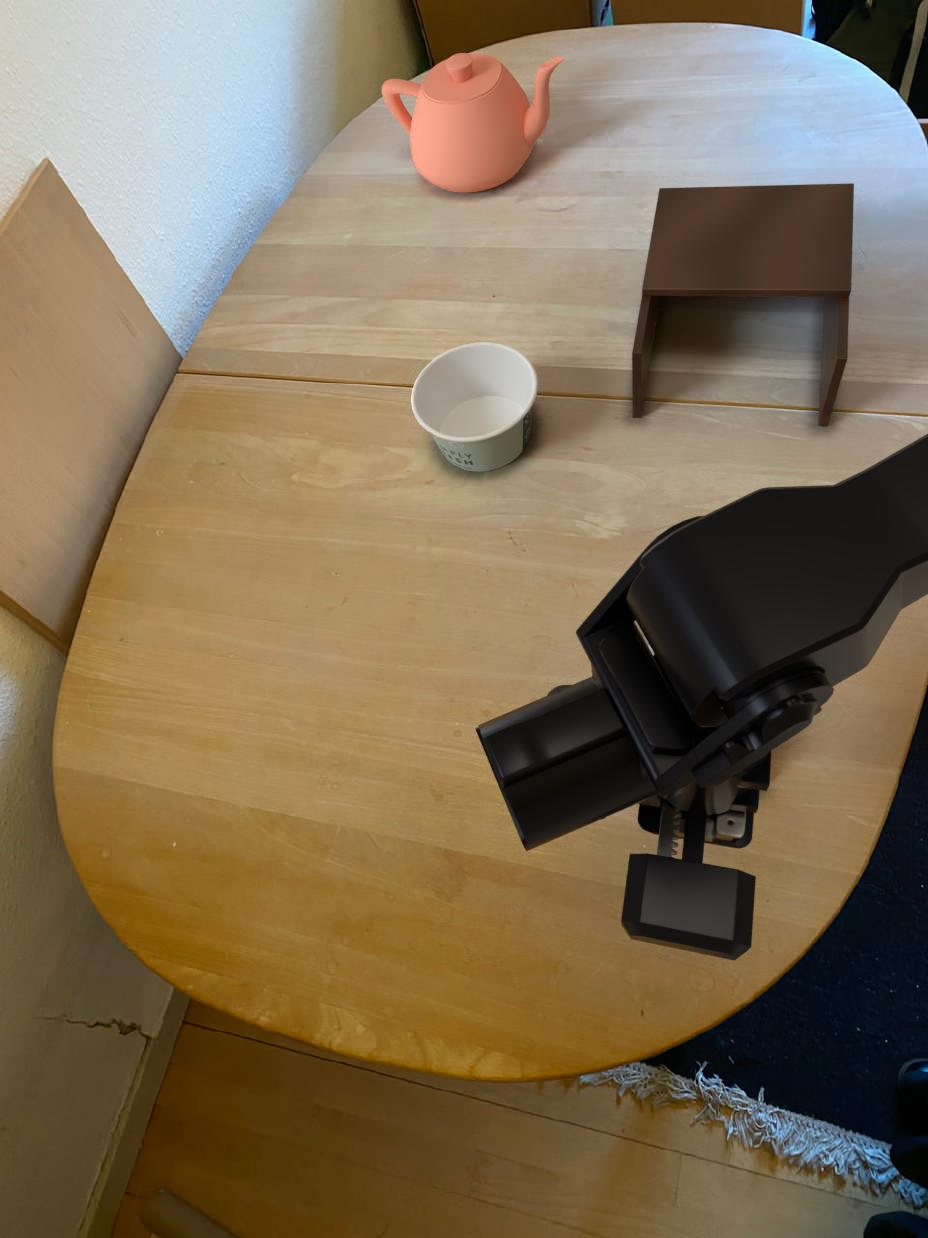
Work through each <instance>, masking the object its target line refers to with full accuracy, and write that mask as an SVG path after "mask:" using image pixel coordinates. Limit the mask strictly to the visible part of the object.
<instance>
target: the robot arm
mask: <svg viewBox="0 0 928 1238" xmlns="http://www.w3.org/2000/svg"><path fill="white" fill-rule="evenodd" d="M925 596H928V433H926V434H925V435H923V436H921V437H919V438H918V439H916V440H914V441H913V442H911V443H909V444H908V445H906V446H904V447H902V448H900V449H898V450H897V451H895V452H894V453H892V454H890V455H888V456H886V457H885V458H883V459H881V460H879V461H878V462H875V463H874V464H873V465H871V466H869V467H867V468H865V469H864V470H861V471H860V472H857V473H855V474H854V475H852V476H850V477H847V478H845V479H843V480H841V481H839V482H837V483H835V484H826V485H825V484H822V485H798V486H797V485H795V486H769V487H761V488H759V489H756V490H754V491H752V492H750V493H748V494H746V495H744V496H742V497H739V498H737V499H735V500H733V501H732V502H729V503H728V504H725V505H722V506H721V507H719V508H717V509H715V510H713V511H711V512H708V513H707V514H705V515H697V516H694V517H690V518H687V519H684V520H681V521H680V522H678V523H676V524H673V525H672V526H670V527H668V528H667V529H666V530H664V531H663V532H661V533H659V535H657V536H656V537H654V539H653V540H652V541H651V542H650V543H649V544H648V545H647V546H646V547H645V548H644V549H643V550H642V552H641V553H640V554H639V555H638V557H636V559H635V560H634V561H633V562H632V563H631V565H630V566H629V567H628V569H626V571H625V572H624V573H623V574H622V576H620V578H619V579H618V581H616V582H615V584H614V585H613V586H612V588H611V589H610V590H609V591H608V592H607V593H606V595H604V596H603V598H602V599H601V601H599V603H598V604H597V605H596V606H595V608H594V609H593V610H592V611H591V612H590V613H589V615H588V616H587V617H586V618H585V619H584V620H583V622H582V623H581V624H580V625H579V627H578V628H577V629H576V630H575V635H576V637H577V639H578V641H579V643H580V645H581V647H582V648H583V650H584V653H585V654H586V656H587V658H588V660H589V663H590V667H591V676H590V677H587V678H585V679H581V680H580V681H578V682H576V683H573V684H560V685H557V686H554V687H553V688H552V689H551V690H550V691H549V692H548V693H547V694H546V695H545V696H543V697H541V698H539V699H535V700H533V701H531V702H529V703H526V704H525V705H522V706H520V707H517V708H515V709H512V710H510V711H508V712H506V713H503V714H501V715H499V716H496V717H494V718H492V719H489V720H487V721H484V722H482V723H480V724H478V725H477V726H478V727H475V728H474V730H475V732H476V734H477V737H478V739H479V742H480V745H481V747H482V749H483V751H484V754H485V756H486V759H487V761H488V763H489V767H490V768H491V771H492V774H493V777H494V778H495V781H496V783H497V786H498V788H499V790H500V793H501V795H502V798H503V800H504V803H505V805H506V808H507V810H508V813H509V815H510V818H511V819H512V822H513V825H514V827H515V830H516V833H517V834H518V838H519V839H520V842H521V844H522V846H523V848H524V850H525V851H526V852H528V851H529V852H530V851H531V850H533V849H536V848H538V847H540V846H542V845H544V844H545V845H546V844H547V843H549V842H552V841H553V840H557V839H560V838H561V837H563V836H565V835H568V834H570V833H573V832H575V831H578V830H580V829H583V828H585V827H586V826H589V825H591V824H594V823H597V822H598V821H601V820H604V819H606V818H608V817H610V816H612V815H615V814H617V813H619V812H622V811H624V810H626V809H629V808H631V807H633V806H635V805H637V804H638V811H637V813H638V814H637V823H638V826H639V827H640V828H641V829H642V830H643V831H645V832H647V833H649V834H652V835H656V836H658V840H657V847H656V848H657V849H656V854H655V853H654V854H653V853H649V852H648V853H647V852H646V853H645V852H643V853H629V856H628V864H627V871H626V880H625V887H624V896H623V902H622V911H621V919H620V923H621V924H620V925H621V927H622V928H623V930H624V931H625V933H626V934H627V935H628V937H629V938H630V940H632V941H638V942H642V943H647V944H650V945H651V944H652V945H657V946H662V947H667V948H670V949H671V948H672V949H677V950H682V951H686V952H691V953H695V954H700V955H706V956H710V957H716V958H719V959H725V960H730V961H733V962H734V961H736V960H737V959H739V958H740V957H742V956H743V955H744V954H745V953H747V952H748V951H749V950H750V949H751V948H752V943H753V930H754V929H753V927H754V913H755V912H754V911H755V898H756V897H755V896H756V883H757V882H756V881H757V876H756V875H754V874H751V873H748V872H746V871H744V870H741V869H740V868H739V869H738V868H732V867H727V866H721V865H716V864H711V863H705V862H703V861H704V851H705V844H708V845H714V846H720V847H725V848H731V849H739V850H740V849H744V848H746V847H747V846H749V845H750V843H751V842H752V840H753V833H754V819H755V818H754V817H755V814H757V812H758V810H759V806H760V805H759V804H760V791H764V792H767V791H768V789H769V787H770V782H771V767H772V751H773V750H774V749H776V748H778V747H779V746H781V745H783V744H784V743H786V742H787V741H788V740H790V739H792V738H793V737H795V736H796V735H797V734H799V733H802V731H804V730H805V729H807V728H808V727H810V726H811V724H812V723H813V720H814V717H815V716H816V715H818V714H819V713H821V712H822V711H823V709H822V706H824V704H826V703H827V702H828V700H830V699H831V697H832V696H833V694H834V691H835V688H834V687H835V686H836V685H838V684H840V683H842V682H843V681H845V680H847V679H848V678H850V677H852V676H854V675H855V674H857V673H859V672H861V671H863V670H864V669H865V668H867V667H868V665H869V664H871V662H872V660H873V658H874V656H875V655H876V654H877V652H878V650H879V648H880V647H881V645H882V643H883V641H884V639H885V638H886V636H887V634H888V633H889V631H890V630H891V628H892V626H893V624H894V623H895V621H896V619H897V618H898V616H899V614H900V612H901V611H902V610H903V609H905V608H908V606H910V605H912V604H914V603H915V602H917V601H919V600H921V599H922V598H923V597H925ZM636 623H637V624H636ZM637 625H638V626H637ZM642 634H643V635H644V636H645V638H646V639H647V641H648V643H649V645H650V647H651V648H652V650H653V652H654V656H653V654H652V653H651V651H650V649H649V647H648V645H647V644H646V642H645V640H644V638H643V635H642ZM679 839H680V840H683V842H682V849H681V850H682V851H681V858H676V857H674V856H676V855H678V850H676V849H675V848H678V847H679V843H678V842H676V841H678V840H679Z"/></svg>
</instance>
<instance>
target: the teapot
mask: <svg viewBox="0 0 928 1238" xmlns="http://www.w3.org/2000/svg"><path fill="white" fill-rule="evenodd" d="M564 58H565V57H564V56H562V55H561V56H556V57H552V58H550V59H548V60H547V61H544V62H543V63H542V64H541V65H539V67H538V69H537V71H536V73H535V75H534V82H533V101H532V103H530V101H529V98H528V96H527V94H526V92H525V90H524V89H523V87H522V86H521V85H520V83H519V82H518V80H517V79H516V77H515V76H514V75H513V74H512V72H511V71H510V70H509V69H508V68H507V67H506V66H505V65H504V64H503V63H502V62H501V61H500V60H499V59H498V58H496V57H493V56H491V55H487V54H483V53H467V52H460V53H459V52H458V53H455V54H453V55H451V56H449V58H446V59H443V60H442V61H440V62H438V63H437V64H435V65H434V66H433V67H432V68H431V69H430V70H429V71H428V73H427V74H426V76H425V77H424V79H423V81H422V83H421V84H420V83H418V82H415V81H411V80H407V79H401V78H389V79H387V80H385V81H384V82H383V83H382V85H381V94H382V98H383V100H384V103H385V104H386V106H387V108H388V109H389V112H391V113H392V115H393V116H394V118H395V119H396V121H397V122H398V123H399V124H400V125H401V127H403V129H404V130H405V132H407V133H408V134H409V136H410V137H409V138H410V139H409V140H410V143H409V144H410V145H409V146H410V153H411V158H412V163H413V165H414V167H415V169H416V171H417V173H419V175H420V176H421V177H422V178H423V179H425V180H427V181H428V182H429V183H431V184H433V185H434V186H436V187H438V188H440V189H443V190H445V191H449V192H454V193H455V192H456V193H477V192H481V191H486V190H488V189H493V188H495V187H498V186H500V185H502V184H504V183H506V182H507V181H509V180H510V179H512V178H513V177H514V176H515V175H517V173H519V171H520V170H521V169H522V167H523V166H524V165H525V163H526V161H527V159H528V158H529V157H530V155H531V153H532V151H533V148H534V147H535V143H536V141H537V140H538V139H539V138H540V137H541V136H542V134H543V133H544V131H545V130H546V128H547V125H548V122H549V118H550V111H551V110H550V109H551V108H550V107H551V104H550V82H551V81H550V80H551V76H552V74H553V72H554V71H555V69H556V68H557V67H558V65H559V64H561V63H562V62H563V60H564ZM400 94H401V95H405V96H409V97H414V98H415V99H416V101H415V104H414V108H413V112H412V115H411V114H410V113H409V111H408V109H407V107H406V106H405V104H404V102H403V100H402V98H401V96H400Z"/></svg>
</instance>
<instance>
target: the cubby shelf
mask: <svg viewBox="0 0 928 1238" xmlns="http://www.w3.org/2000/svg"><path fill="white" fill-rule="evenodd" d="M854 197H855V183H854V182H851V183H816V184H815V183H811V184H809V183H808V184H775V185H774V184H773V185H772V184H771V185H768V184H767V185H733V186H732V185H730V186H729V185H728V186H727V185H726V186H695V187H694V186H691V187H690V186H689V187H687V186H686V187H660V188H659V189H658V194H657V200H656V205H655V211H654V217H653V223H652V229H651V235H650V241H649V246H648V251H647V259H646V263H645V269H644V276H643V281H642V287H641V298H640V299H641V300H640V305H639V311H638V315H637V322H636V329H635V333H634V334H635V335H634V339H633V346H632V351H631V375H632V376H631V381H632V386H631V387H632V389H631V390H632V393H631V394H632V418H635V419H641V418H642V414H643V408H644V401H645V396H646V389H647V382H648V377H649V370H650V363H651V357H652V351H653V345H654V339H655V333H656V328H657V327H656V326H657V320H658V314H659V308H660V302H661V297H752V298H753V297H759V298H761V297H763V298H764V297H765V298H766V297H767V298H769V297H771V298H772V297H773V298H777V297H778V298H784V297H785V298H823V313H822V333H821V334H822V335H821V354H820V355H821V357H820V377H819V378H820V380H819V381H820V382H819V399H818V400H819V401H818V420H817V421H818V427H828V425H829V422H830V420H831V416H832V413H833V409H834V406H835V403H836V399H837V395H838V393H839V389H840V386H841V382H842V379H843V375H844V372H845V369H846V365H847V363H848V358H849V357H848V355H849V322H850V321H849V320H850V319H849V318H850V297H851V294H852V283H853V282H852V280H853V279H852V276H853V243H854V241H853V239H854V201H855V198H854Z"/></svg>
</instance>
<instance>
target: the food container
mask: <svg viewBox="0 0 928 1238" xmlns="http://www.w3.org/2000/svg"><path fill="white" fill-rule="evenodd" d="M538 391H539V378H538V373H537V371H536V368H535V367H534V365H533V363H532V362H531V360H530V359H529V358H528V357H527V356H526V355H525V354H524V353H522V352H521V351H520V350H518V349H516V348H514V347H512V346H511V345H506V344H503V343H499V342H493V341H476V342H470V343H465V344H462V345H457V346H455V347H453V348H450V349H448V350H446V351H444V352H442V353H441V354H439V355H437V356H436V357H434V358H433V359H432V360H431V361H430V362H429V363H428V364H427V365H426V366H425V367H424V368H423V369H422V370H421V372H420V373H419V374H418V376H417V377H416V380H415V382H414V383H413V387H412V390H411V395H410V397H411V398H410V403H411V404H410V405H411V409H412V413H413V415H414V417H415V419H416V421H417V423H419V425H420V426H421V427H422V428H423V429H424V430H425V431H426V432H428V433H429V434H430V435H431V437H432V439H433V440H434V442H435V444H436V446H437V447H438V448H439V450H440V451H441V453H442V454H443V456H444V457H445V458H446V460H447V461H448V462H450V464H452V465H453V466H455V467H456V468H459V469H462V470H464V471H468V472H479V473H480V472H490V471H494V470H497V469H499V468H503V467H505V466H506V465H508V464H510V463H512V462H513V461H515V460H516V459H517V458H518V457H519V456H520V455H521V454H522V453H523V451H524V450H525V448H526V447H527V446H528V443H529V441H530V437H531V431H532V419H533V418H532V417H533V405H534V403H535V401H536V399H537V395H538Z"/></svg>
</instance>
